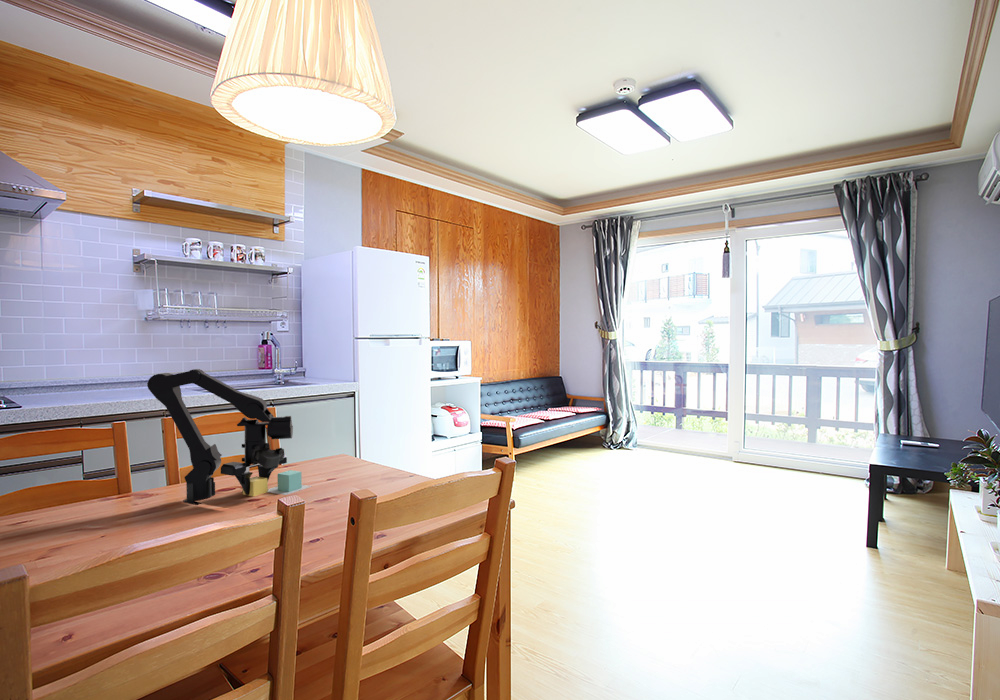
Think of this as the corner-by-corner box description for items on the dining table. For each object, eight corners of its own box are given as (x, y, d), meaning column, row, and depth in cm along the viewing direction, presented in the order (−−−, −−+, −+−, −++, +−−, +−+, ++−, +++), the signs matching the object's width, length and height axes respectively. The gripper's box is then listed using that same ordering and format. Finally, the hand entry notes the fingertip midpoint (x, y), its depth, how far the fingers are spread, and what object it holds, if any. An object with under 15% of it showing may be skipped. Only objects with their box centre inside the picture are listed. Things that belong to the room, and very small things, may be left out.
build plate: (285, 497, 149) (285, 494, 149) (262, 493, 154) (262, 491, 154) (311, 488, 158) (311, 486, 158) (288, 485, 163) (288, 482, 163)
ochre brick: (253, 499, 148) (253, 481, 148) (242, 496, 150) (242, 480, 150) (267, 494, 153) (267, 478, 152) (256, 492, 155) (256, 476, 155)
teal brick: (289, 491, 152) (288, 475, 152) (277, 490, 154) (277, 473, 154) (301, 487, 157) (301, 471, 157) (290, 486, 159) (290, 470, 159)
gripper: (245, 447, 140) (246, 504, 140) (299, 437, 156) (299, 487, 156) (219, 444, 144) (219, 499, 144) (274, 434, 161) (274, 483, 161)
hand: (255, 492), depth 152 cm, fingers open, 5 cm apart
